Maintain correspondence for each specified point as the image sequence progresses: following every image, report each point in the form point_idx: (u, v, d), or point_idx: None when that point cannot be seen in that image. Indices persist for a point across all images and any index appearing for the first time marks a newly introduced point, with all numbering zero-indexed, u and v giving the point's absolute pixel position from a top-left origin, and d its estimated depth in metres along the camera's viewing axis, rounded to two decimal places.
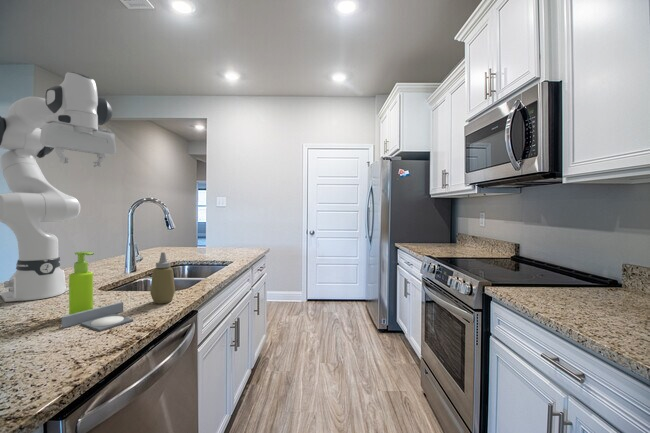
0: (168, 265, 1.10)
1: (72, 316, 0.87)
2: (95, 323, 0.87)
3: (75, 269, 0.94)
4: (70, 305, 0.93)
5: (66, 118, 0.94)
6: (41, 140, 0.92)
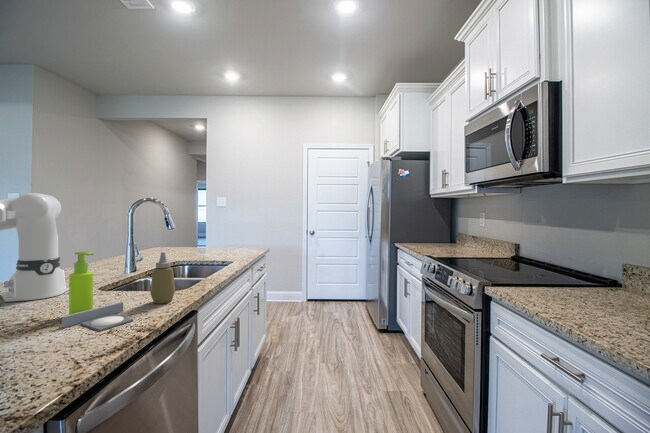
0: (168, 265, 1.10)
1: (72, 316, 0.87)
2: (95, 323, 0.87)
3: (75, 269, 0.94)
4: (70, 305, 0.93)
5: None
6: None
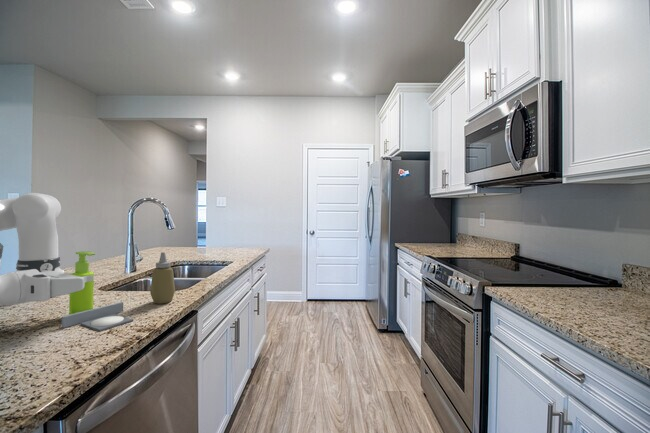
0: (168, 265, 1.10)
1: (72, 316, 0.87)
2: (95, 323, 0.87)
3: (76, 269, 0.94)
4: (70, 305, 0.93)
5: (38, 276, 0.82)
6: (79, 286, 0.86)
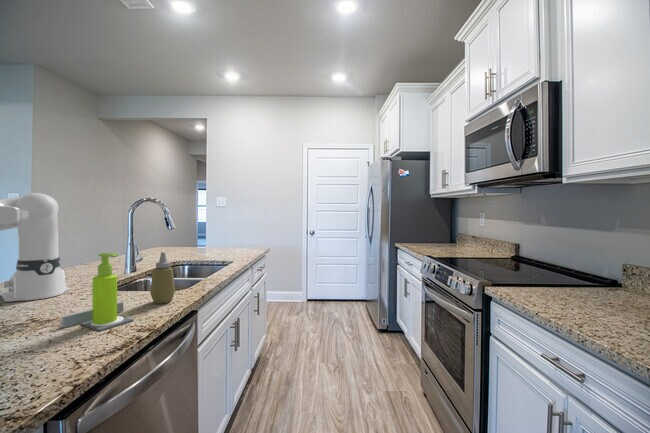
0: (168, 265, 1.10)
1: (72, 316, 0.87)
2: None
3: (99, 272, 0.88)
4: (94, 310, 0.87)
5: None
6: (12, 217, 0.71)
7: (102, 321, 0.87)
